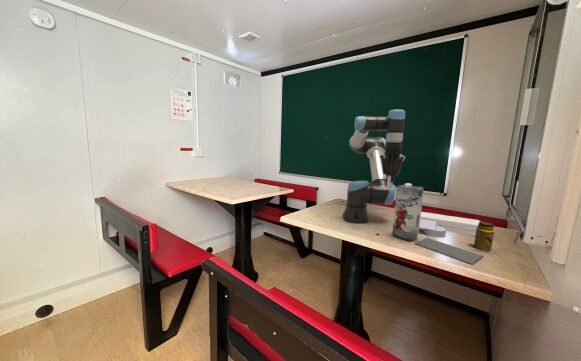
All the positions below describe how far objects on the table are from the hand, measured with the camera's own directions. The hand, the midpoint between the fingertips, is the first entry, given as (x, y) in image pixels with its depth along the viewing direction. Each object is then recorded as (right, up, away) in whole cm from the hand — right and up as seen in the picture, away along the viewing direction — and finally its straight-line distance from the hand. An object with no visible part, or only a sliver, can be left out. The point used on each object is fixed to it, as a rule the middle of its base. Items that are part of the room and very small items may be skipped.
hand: (389, 188), depth 119 cm
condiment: (+34, -27, -15) cm, 46 cm away
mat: (+17, -26, -18) cm, 36 cm away
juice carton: (+5, -24, -5) cm, 25 cm away
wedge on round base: (+22, -24, +2) cm, 33 cm away
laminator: (+35, -23, +12) cm, 44 cm away
